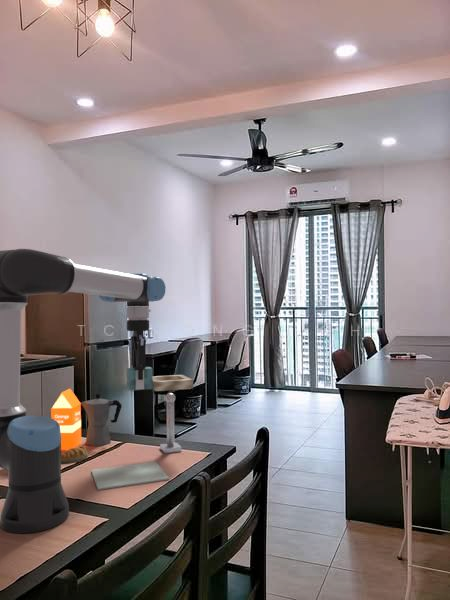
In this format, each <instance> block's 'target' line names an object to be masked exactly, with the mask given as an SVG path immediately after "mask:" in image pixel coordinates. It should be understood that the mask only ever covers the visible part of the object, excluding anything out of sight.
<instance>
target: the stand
mask: <svg viewBox="0 0 450 600" xmlns="http://www.w3.org/2000/svg"><path fill="white" fill-rule="evenodd" d="M164 400H165V402H166V443H160V444H159V445H160V446H159V448H160V450H161V451H162V452H163V453H164V454H171V453H179V452H182V451H183V450H182V448H183V447H182V446H181V445H180V444H179V442H176V441H175V401H176V394H174V393H172V392H168V393H167V394H165V397H164Z"/></svg>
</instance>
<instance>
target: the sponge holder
mask: <svg viewBox="0 0 450 600" xmlns="http://www.w3.org/2000/svg"><path fill="white" fill-rule="evenodd" d="M134 369H135V368H133V367H126V390H127V391H130V392H131V391H137V390H136V370H134ZM191 389H194V379H193V378H190V377H188V376H186V375H184V374H172V375H171V374H169V375H156V376H153V367H151V366H146V368H145V369H144V389H140V390H139V391H142V390H143V391H144V390H153V391H154V392H165V391H177V390H191Z"/></svg>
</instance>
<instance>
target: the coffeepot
mask: <svg viewBox="0 0 450 600" xmlns="http://www.w3.org/2000/svg"><path fill="white" fill-rule="evenodd" d="M100 397H101V393H96V394H95V399H90V400H84V401H81V402H80V403H81V407H83V409H84V411H85V412H86V415H87V422H88V425H87V426H88V427H87V431H86V438H85V444H86V446H91V447H100V446H106V445H108V444H110V443H111V437H110V431H109V430H110V429H109V424H108V420H109V414H110V409H111V406H116V408H115V413H114V417H113V419H110V422H111V424H112V423H115V424H116V423H117V422H118V419H119V415H120V413H121V410H122V406H123V405H122V403H121V401H119V400H117V399H111V400H110V399H105V398H100Z"/></svg>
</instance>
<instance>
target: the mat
mask: <svg viewBox="0 0 450 600" xmlns="http://www.w3.org/2000/svg"><path fill="white" fill-rule="evenodd" d="M90 472H91V474H92V477H93V480H94V482H95V485H96V488H97V491H102V490H107V489H108V490H110V489H114V488H123V487H128V486H135V485H143V484H149V483H155V482H162V481H163V482H165V481H169V480H170V477H169V475H167V474H166V472H165V471H164V470H163V468H162V467H161V466H160V465H159V463H158V462H157V461H150V462H141V463H133V464H126V465H118V466H111V467H103V468H102V467H101V468H97V469H95V468H94V469H91V471H90Z"/></svg>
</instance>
